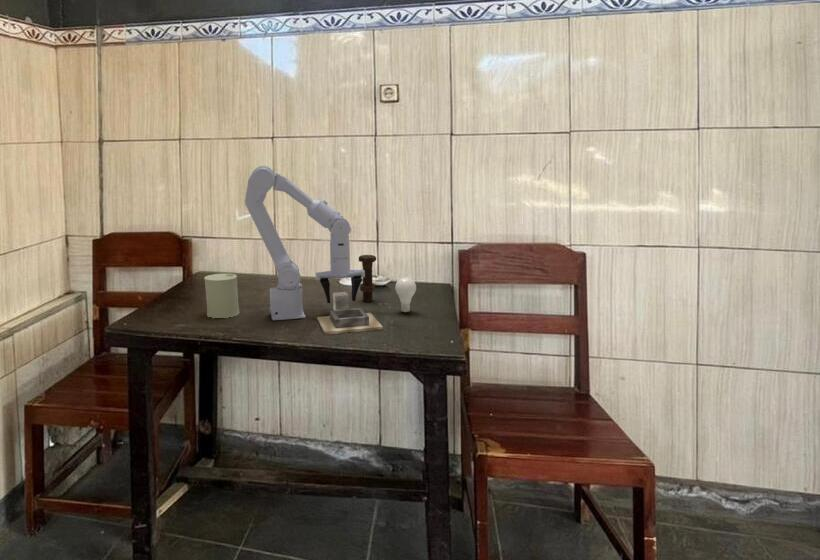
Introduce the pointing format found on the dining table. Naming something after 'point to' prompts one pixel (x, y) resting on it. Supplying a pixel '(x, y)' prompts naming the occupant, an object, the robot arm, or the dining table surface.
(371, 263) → the bolt
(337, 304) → the peg
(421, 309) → the dining table surface
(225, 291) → the can
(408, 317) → the dining table surface
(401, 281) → the lightbulb
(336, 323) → the socket base
